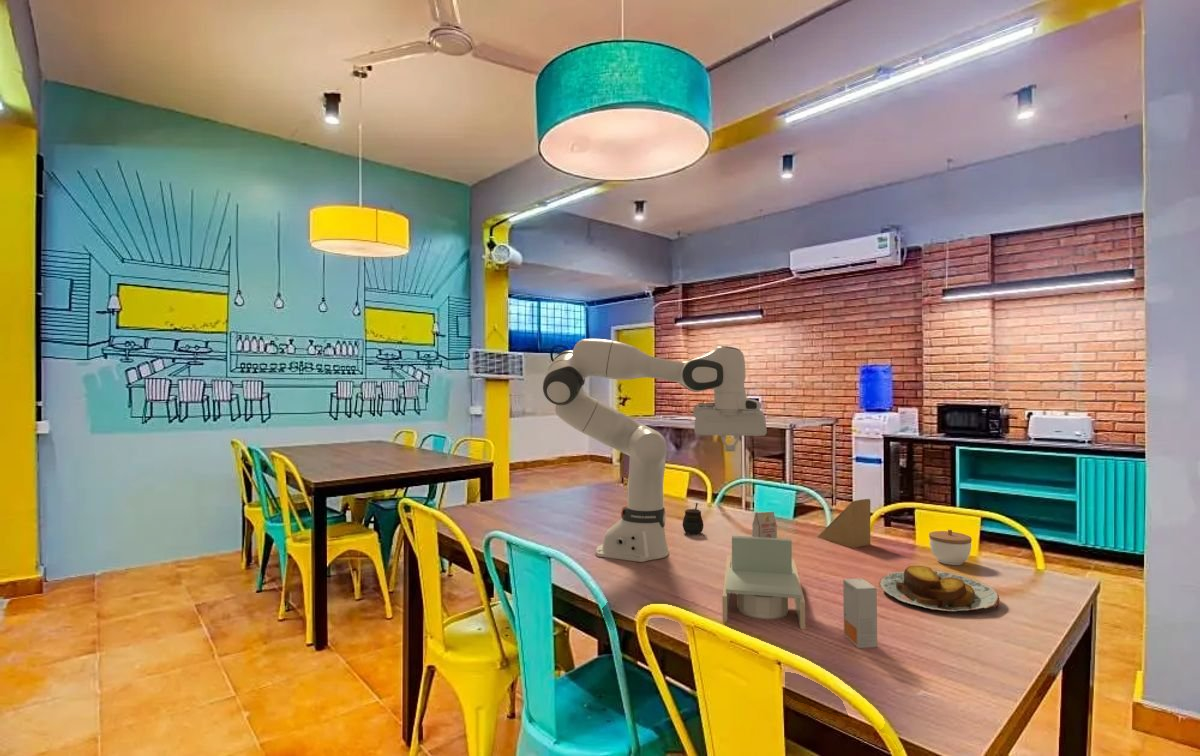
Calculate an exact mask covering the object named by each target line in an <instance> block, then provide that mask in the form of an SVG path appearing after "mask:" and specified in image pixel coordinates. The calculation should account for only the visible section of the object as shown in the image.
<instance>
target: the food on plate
mask: <svg viewBox="0 0 1200 756" xmlns="http://www.w3.org/2000/svg"><path fill="white" fill-rule="evenodd" d="M878 582H879V583H878V584H879V587H880V588H881V590H882V591H883V592H885V593H886V594H887V595H889V596H890V597H894V598H895V599H897V601H901V602H903V603H905V604H910V605H915V606H918V607H923V608H925V609H930V610H938V611H944V612H945V611H947V612H958V611H970V610H979V609H983V608H984V609H988V608H992V607H995V609H1000V607H999V604H1000V595H999V593H998V592H997V591H996V590H995V589H994V588H992V587H991V586H989V585H988V584H985V583H983V582H981V581H979V580H976V579H973V578H970V577H967V576H963V575H959V574H956V573H952V572H946V571H943V570H942V571H941V570H933V569H932V568H931V567H929V566H925V565H910V566H909V565H908V566H907V567H906V568H905V569H904V570H902V571H894V572H892V573H887V574H886V575H883V577H881V578H880V579H879V581H878ZM902 596H904V597H905V598H907V599H909V600H910V601H909V600H907V599H904V598H902ZM943 608H944V609H943ZM974 618H977V615H975V616H974Z"/></svg>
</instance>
